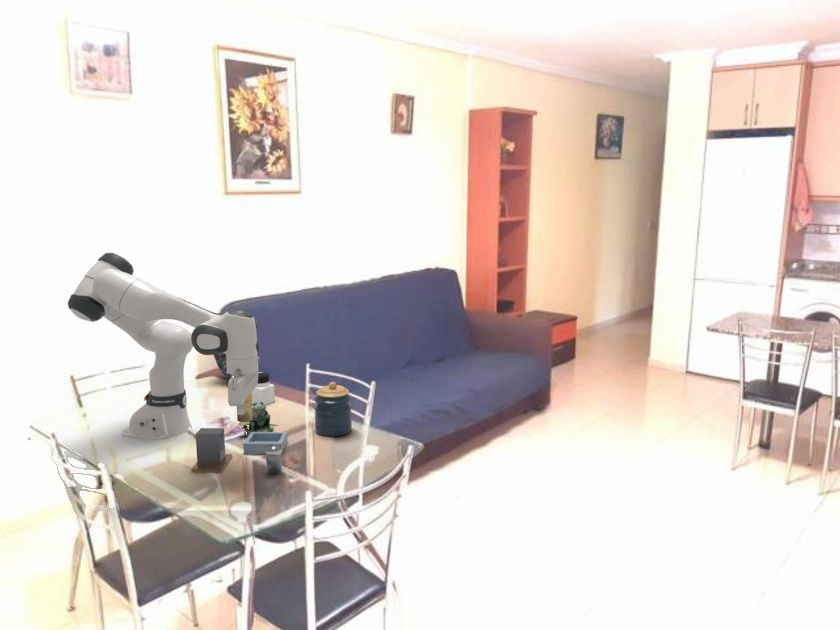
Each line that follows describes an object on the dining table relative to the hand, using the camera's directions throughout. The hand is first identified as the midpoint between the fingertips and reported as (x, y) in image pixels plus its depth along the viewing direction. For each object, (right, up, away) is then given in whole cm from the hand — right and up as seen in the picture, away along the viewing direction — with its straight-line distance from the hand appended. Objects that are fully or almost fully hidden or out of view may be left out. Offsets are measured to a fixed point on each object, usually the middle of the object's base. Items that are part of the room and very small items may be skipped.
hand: (244, 410), depth 187 cm
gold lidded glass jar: (0, -3, +1) cm, 3 cm away
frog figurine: (-5, -13, +34) cm, 37 cm away
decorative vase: (-28, -2, +91) cm, 96 cm away
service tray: (+2, -15, +20) cm, 25 cm away
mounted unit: (-12, -18, +7) cm, 22 cm away
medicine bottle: (-11, -7, +65) cm, 66 cm away
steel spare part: (+8, -19, +3) cm, 21 cm away
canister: (+21, -13, +36) cm, 44 cm away
